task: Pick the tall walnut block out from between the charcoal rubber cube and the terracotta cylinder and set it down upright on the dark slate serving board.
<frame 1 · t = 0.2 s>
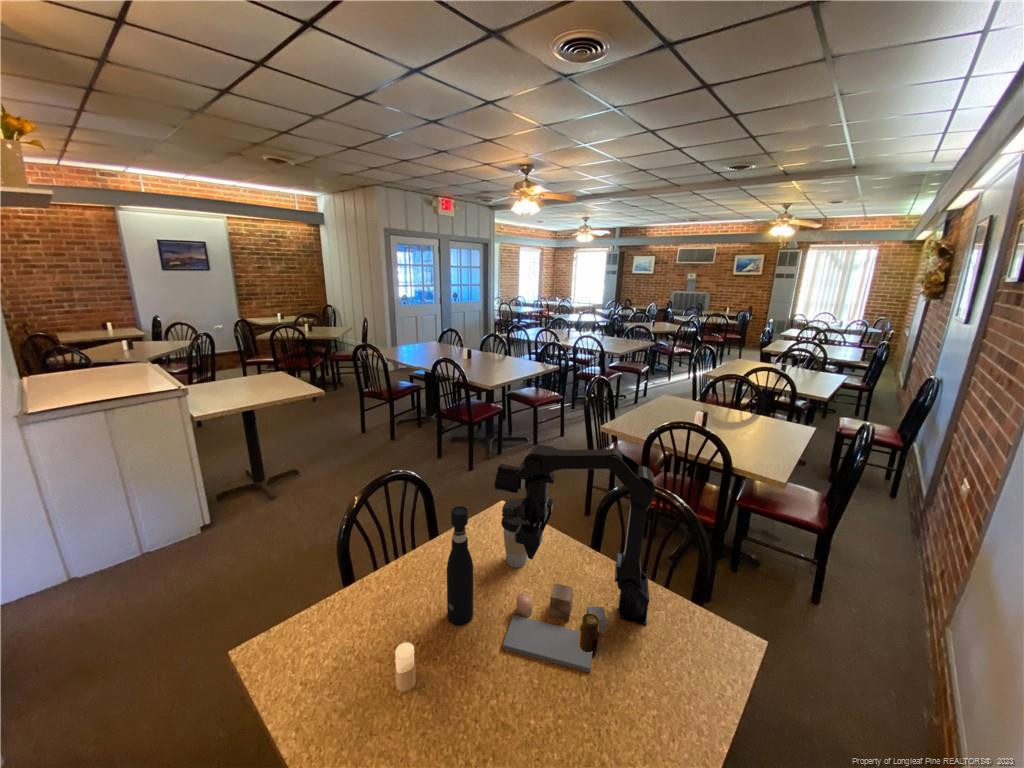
hand: (534, 547, 110), 14 cm above the table, fingers open, 9 cm apart
black water bottle: (460, 616, 105), on the table
coffee cup: (516, 561, 125), on the table
walnut block: (560, 611, 107), on the table
slate board: (549, 643, 98), on the table
terracotta cylinder: (523, 611, 107), on the table
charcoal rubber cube: (595, 626, 103), on the table
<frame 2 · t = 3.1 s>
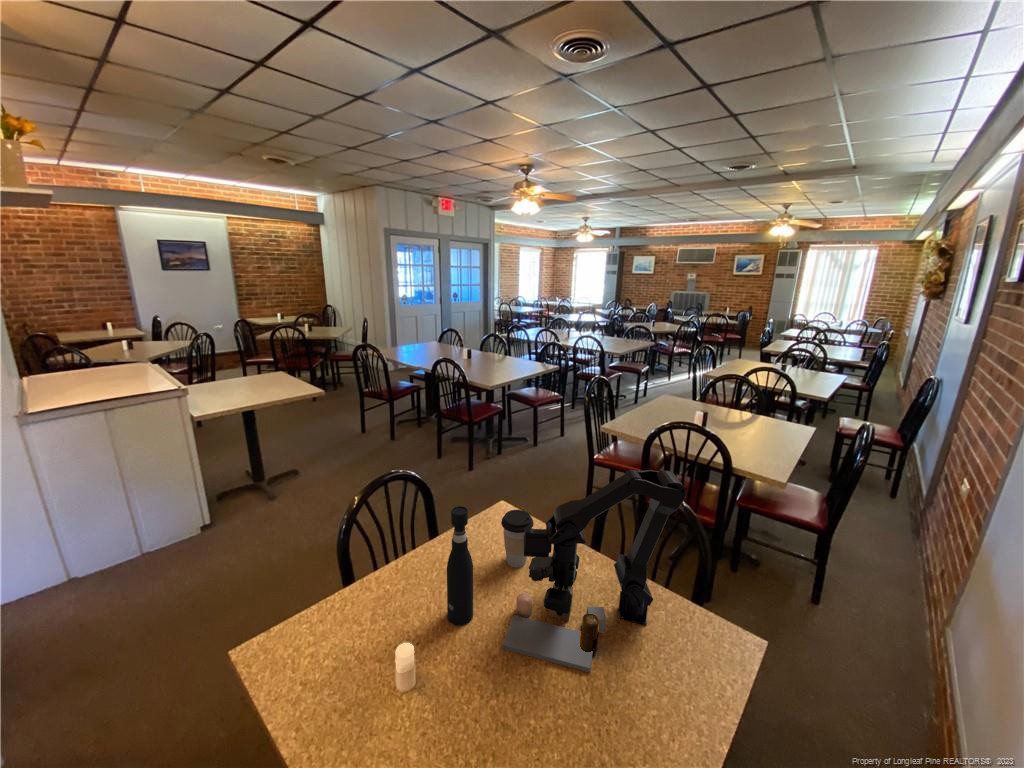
hand: (560, 607, 107), 1 cm above the table, fingers closed on walnut block, 5 cm apart
walnut block: (560, 611, 107), on the table, touching gripper
everything else where it was.
when the fingers open (4 cm above the table, at t = 7.6 s): walnut block drops 1 cm, resting on slate board.
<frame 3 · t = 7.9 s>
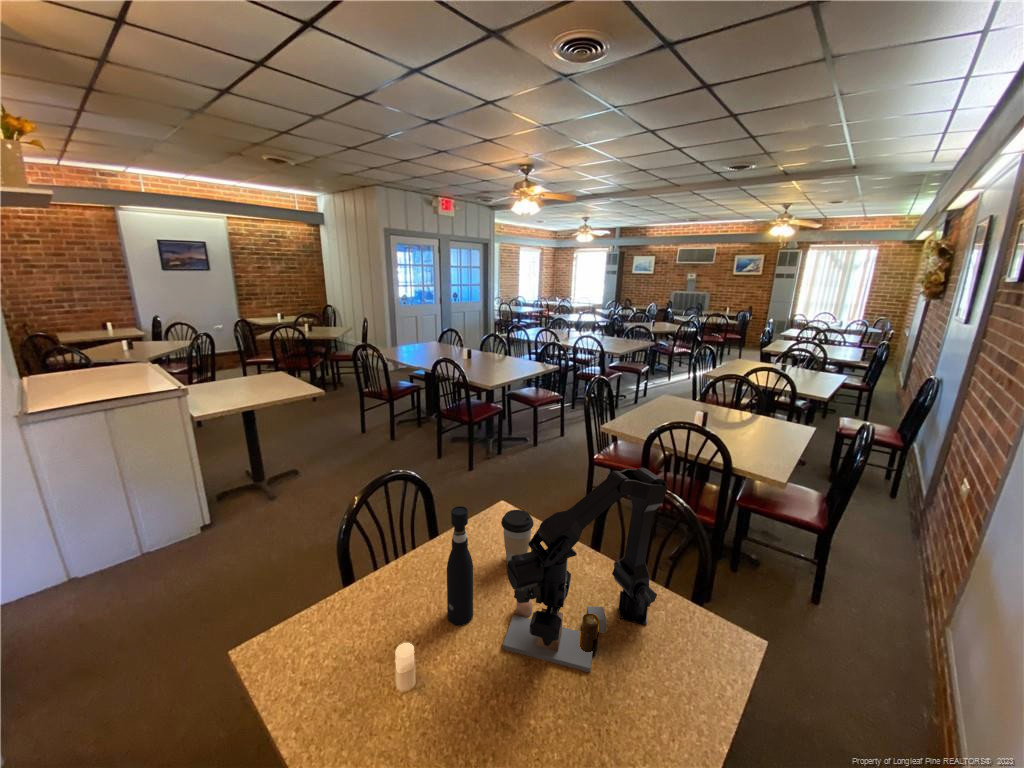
hand: (550, 630, 97), 4 cm above the table, fingers open, 8 cm apart
walnut block: (549, 639, 97), point 1 cm above the table, touching slate board
everything else where it was.
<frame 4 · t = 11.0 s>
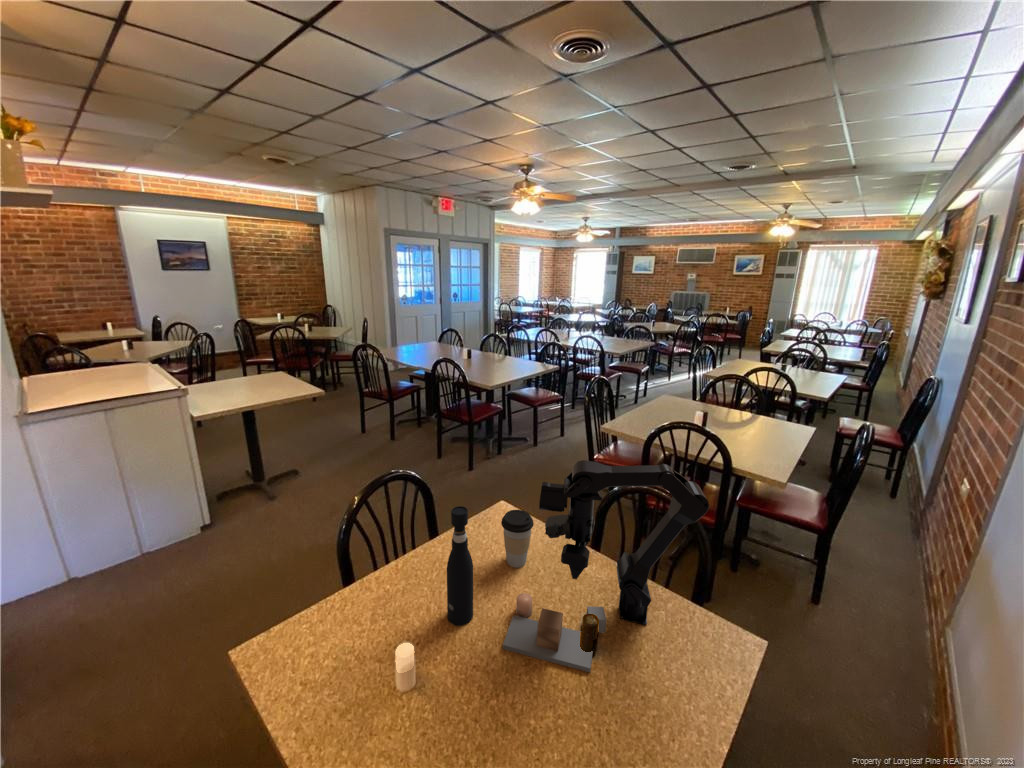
hand: (576, 566, 106), 12 cm above the table, fingers open, 9 cm apart
nothing on the table moved.
at the end: walnut block inside the target area on the slate board (0.0 cm from its centre), point 1.2 cm above the slate board's base; walnut block tilted 0°; the gripper is holding nothing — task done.
